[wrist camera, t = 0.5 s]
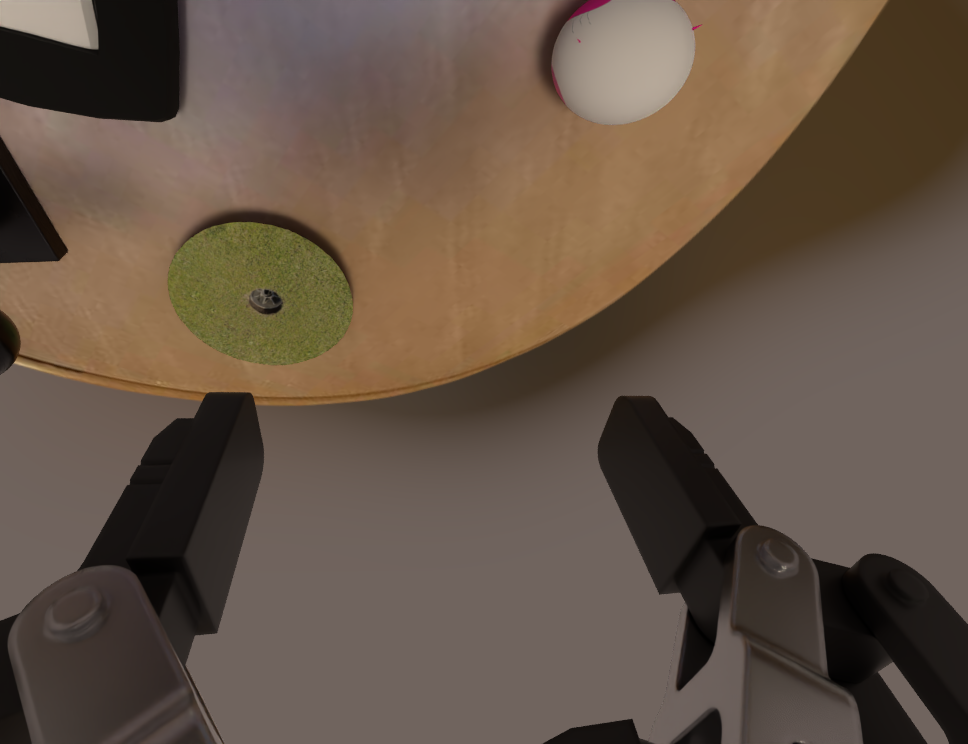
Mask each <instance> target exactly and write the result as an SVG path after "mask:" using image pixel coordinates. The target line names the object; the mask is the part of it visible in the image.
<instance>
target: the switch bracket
mask: <svg viewBox="0 0 968 744" xmlns="http://www.w3.org/2000/svg"><path fill="white" fill-rule="evenodd" d="M66 253H67V250H66V248H65V246H64V245H63V243H62V241H61V240H60V238H59V236H58V234H57V233H56V231H55V229H54V228H53V226H52V224H51V223H50V221H49V219H48V218H47V216H46V214H45V213H44V211H43V209H42V208H41V206H40V204H39V203H38V201H37V199H36V198H35V196H34V194H33V192H32V191H31V189H30V187H29V186H28V184H27V182H26V181H25V179H24V177H23V176H22V174H21V172H20V171H19V169H18V167H17V166H16V164H15V162H14V161H13V159H12V157H11V156H10V154H9V152H8V150H7V149H6V147H5V145H4V144H3V142H2V140H1V139H0V263H16V262H45V261H59V260H60V259H61V258H62V257H63V256H64V255H65V254H66Z"/></svg>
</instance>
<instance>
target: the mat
mask: <svg viewBox="0 0 968 744" xmlns="http://www.w3.org/2000/svg"><path fill="white" fill-rule="evenodd" d="M169 269H170V270H169V272H168V290H169V296H170V299H171V302H172V304H173V307H174V308H175V311H176V313H177V314H178V316H179V318H181V320H182V321H183V322H184V324H186V326H187V327H188V328H189V330H190V331H191V332H192V333H193V334H195V335H196V336H197V337H198V338H199V339H200V340H202V341H203V342H204V343H206V344H208V345H209V346H211V347H212V348H213V349H216V350H217V351H219V352H222V353H224V354H226V355H228V356H232V357H233V358H237V359H241V360H245V361H248V362H252V363H259V364H261V363H262V364H268V365H287V364H293V363H299V362H303V361H306V360H309V359H312V358H315V357H317V356H319V355H321V354H323V353H324V352H326V351H328V350H329V349H330V348H332V347H333V346H334V345H336V344H337V342H339V341H340V339H341V338H342V337H343V336H344V334H345V332H346V330H347V329H348V326H349V324H350V322H351V318H352V313H353V311H352V310H353V308H352V307H353V301H352V300H351V299H352V295H351V292H350V287H349V284H348V282H347V280H346V279H345V276H344V274H343V273H342V271H341V269H340V268H339V266H338V265H337V264H336V263H335V262H334V260H333V259H332V258H331V257H330V256H329V255H328V254H326V253H325V252H324V251H323V250H322V249H321V248H319V247H318V246H317V245H315V244H314V243H312V242H310V241H309V240H307V239H306V238H304V237H302V236H299V235H297V234H296V233H294V232H291V231H290V230H288V229H286V230H285V229H283V228H280V227H276V226H274V225H267V224H264V225H263V224H261V223H254V222H234V223H226V224H221V225H216V226H212V228H208V229H205V230H203V231H201V232H200V233H198V234H195V235H194V237H191V238H190V239H189V240H188V241H187V242H186V243H185V244H184V245H183V246H182V247H181V249H179V250H178V252H177V253H176V255H175V256H174V259H173V260H172V263H171V265H170V267H169Z"/></svg>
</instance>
